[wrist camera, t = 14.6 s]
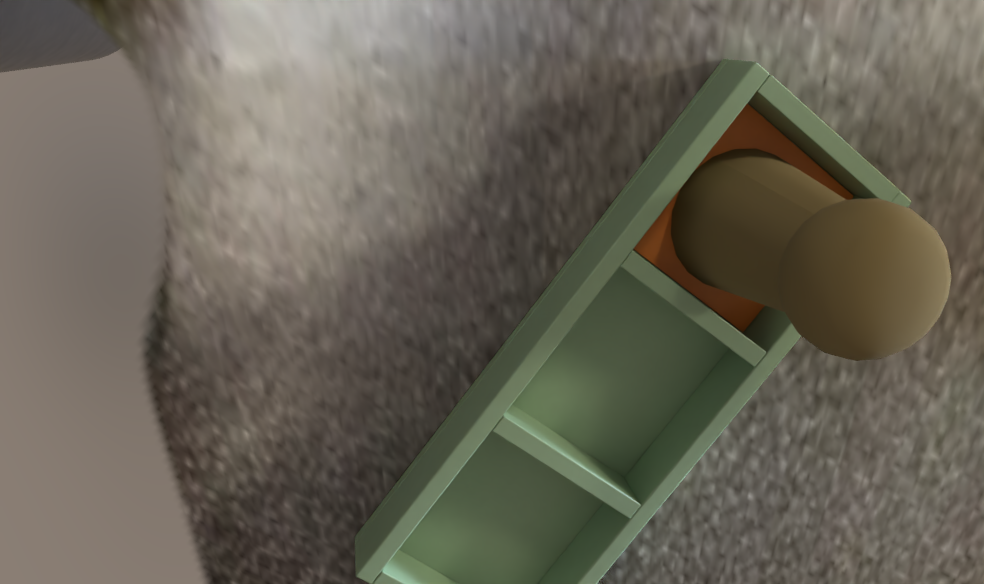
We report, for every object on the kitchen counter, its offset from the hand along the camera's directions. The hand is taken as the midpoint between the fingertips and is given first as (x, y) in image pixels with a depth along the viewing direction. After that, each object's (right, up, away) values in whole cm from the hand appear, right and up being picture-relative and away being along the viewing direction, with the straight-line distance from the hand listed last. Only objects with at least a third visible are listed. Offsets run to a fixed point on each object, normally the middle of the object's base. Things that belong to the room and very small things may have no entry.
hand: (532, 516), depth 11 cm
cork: (+10, +6, +27) cm, 29 cm away
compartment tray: (+5, 0, +28) cm, 28 cm away
